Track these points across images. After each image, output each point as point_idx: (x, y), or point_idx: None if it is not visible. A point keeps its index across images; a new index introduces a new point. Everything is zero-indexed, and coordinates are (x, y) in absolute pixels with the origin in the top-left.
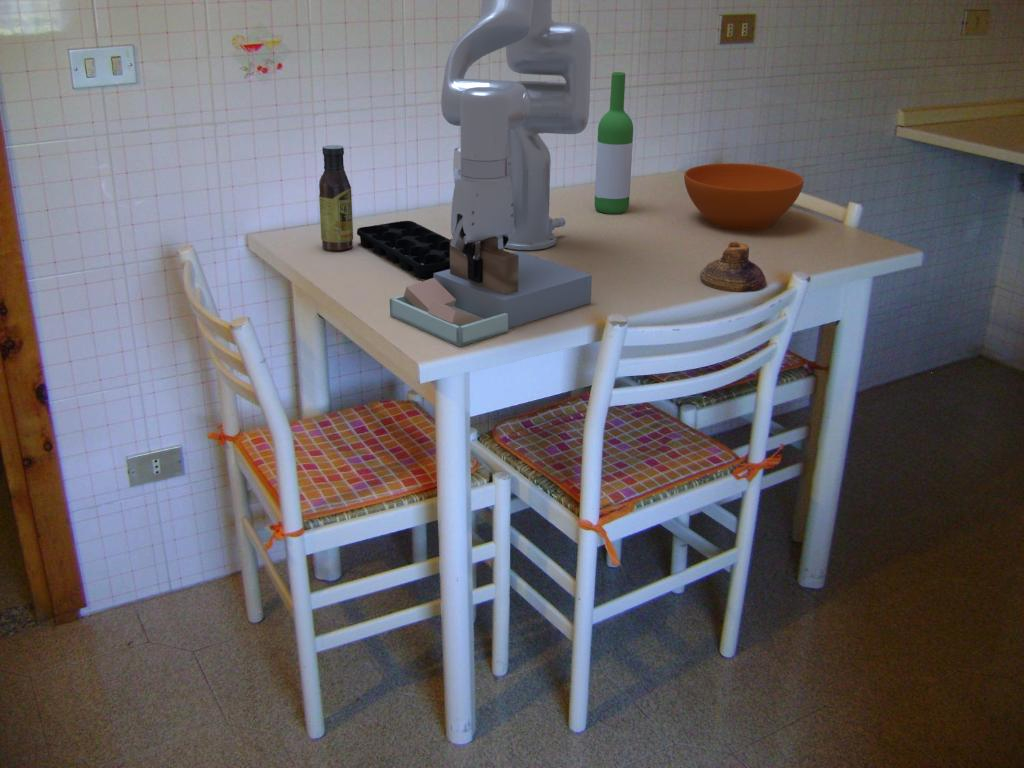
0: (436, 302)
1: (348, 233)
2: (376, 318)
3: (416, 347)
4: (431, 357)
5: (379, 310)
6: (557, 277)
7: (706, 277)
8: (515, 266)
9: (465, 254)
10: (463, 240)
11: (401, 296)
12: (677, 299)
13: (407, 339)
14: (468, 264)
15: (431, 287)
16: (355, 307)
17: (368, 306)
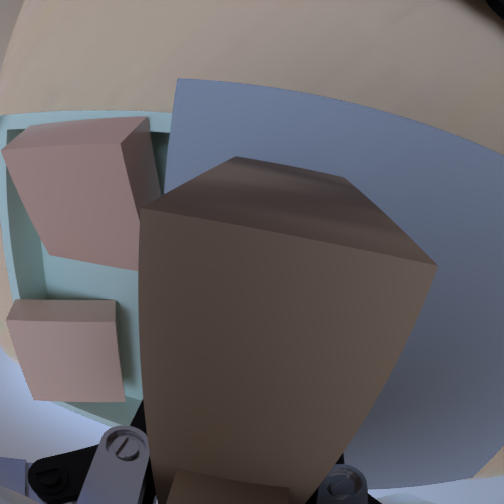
0: (17, 329)
1: None
2: (12, 107)
3: (5, 308)
4: (13, 352)
5: (48, 55)
6: (433, 463)
7: None
8: None
9: (93, 452)
10: (252, 386)
11: (25, 123)
12: (498, 466)
13: (3, 269)
14: (140, 410)
15: (83, 189)
16: (35, 3)
17: (55, 11)
